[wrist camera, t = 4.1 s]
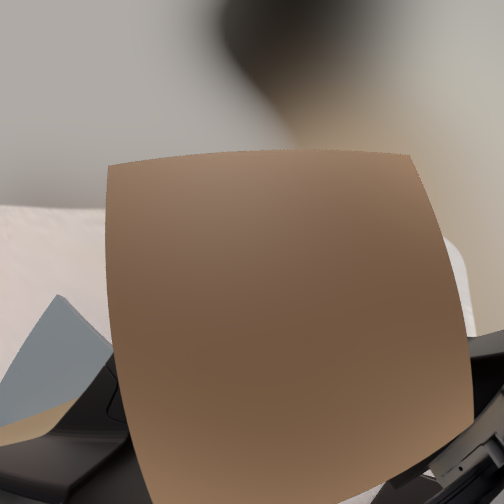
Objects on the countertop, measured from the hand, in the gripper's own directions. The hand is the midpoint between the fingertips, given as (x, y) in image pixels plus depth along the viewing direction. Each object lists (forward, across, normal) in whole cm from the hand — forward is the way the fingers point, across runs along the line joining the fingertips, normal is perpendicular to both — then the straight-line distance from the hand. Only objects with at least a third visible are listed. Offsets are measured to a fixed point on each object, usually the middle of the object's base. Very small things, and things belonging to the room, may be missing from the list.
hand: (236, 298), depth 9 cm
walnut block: (+4, 0, +6) cm, 7 cm away
